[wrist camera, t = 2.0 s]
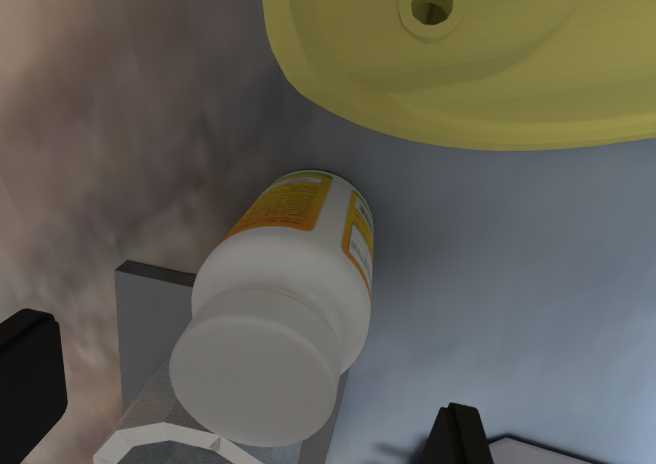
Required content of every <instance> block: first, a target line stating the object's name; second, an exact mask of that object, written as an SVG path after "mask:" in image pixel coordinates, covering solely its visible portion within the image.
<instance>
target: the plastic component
mask: <svg viewBox="0 0 656 464" xmlns="http://www.w3.org/2000/svg"><path fill="white" fill-rule="evenodd" d="M262 3H263V11H264V19H265V27H266V33H267V36H268V39H269V42H270V45H271V48H272V52H273V54H274V56H275V58H276V60H277V61H278V63H279V65H280V67H281V69H282V71H283V73H284V75H285V77H286V79H287V80H288V81H289V82H290V83H291V84H292V85H293V86H294V88H295V89H296V90H297V91H298V92H299V93H300V94H302V95H303V96H305V97H306V98H308V99H309V100H311V101H312V102H314V103H316V104H317V105H319V106H321V107H323V108H324V109H326V110H328V111H330V112H332V113H333V114H336V115H338V116H340V117H342V118H344V119H346V120H349V121H351V122H353V123H355V124H357V125H360V126H363V127H366V128H369V129H372V130H375V131H378V132H381V133H383V134H387V135H391V136H395V137H398V138H402V139H406V140H410V141H415V142H421V143H426V144H431V145H437V146H444V147H452V148H460V149H471V150H489V151H537V150H553V149H567V148H579V147H590V146H599V145H607V144H614V143H621V142H628V141H635V140H643V139H650V138H656V0H262Z"/></svg>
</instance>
